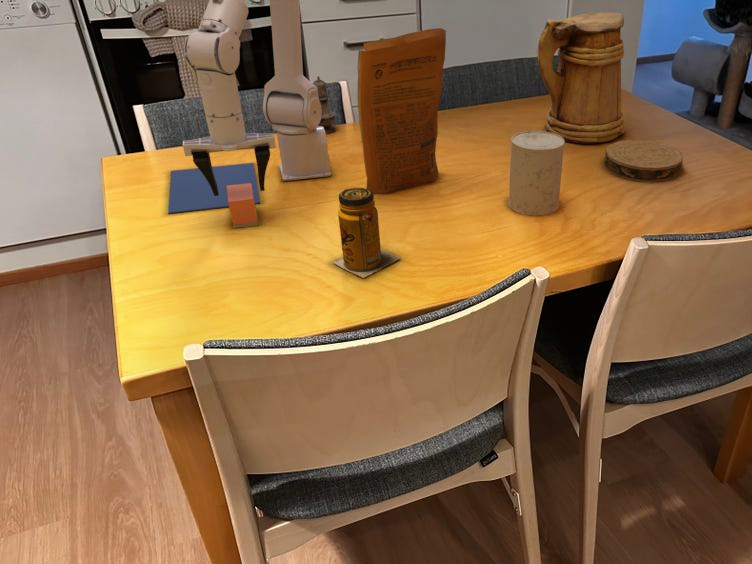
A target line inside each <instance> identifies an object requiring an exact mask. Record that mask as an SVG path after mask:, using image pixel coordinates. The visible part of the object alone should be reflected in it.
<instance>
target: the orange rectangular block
mask: <svg viewBox="0 0 752 564" xmlns="http://www.w3.org/2000/svg"><path fill="white" fill-rule="evenodd" d="M227 196H228V204H229V207H228V209H229V213H230V218H231V222H232V223H231V224H232V227H233V229H240V228H247V227H254V226H255V227H256V226H259V220H258V214H257V208H256V204H255V201H254V196H253V191H252V185H251V183H247V184H238V185H228V186H227Z"/></svg>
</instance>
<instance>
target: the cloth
mask: <svg viewBox="0 0 752 564" xmlns="http://www.w3.org/2000/svg"><path fill="white" fill-rule="evenodd" d="M212 169H213V173H214V177H215V180H216V183H217V187H218V195H219V196H214V193H213V191H212V189H211V186H210V185H209V183H208V181H207V179H206V178H205V176H204V175H203V174H202V172H201V171H200V170H199V169H198V167H196V168H187V169H185V168H183V169H176V170H170V179H169V180H170V181H169V196H168V207H167V208H168V210H167V213H168V215H171V214H172V215H173V214H181V213H189V212H198V211H199V212H200V211H207V210H216V209H226V208H229V204H228V196H227V186H228V185H238V184H247V183H251V185H252V191H253V196H254V201H255V205H260V204H261V200H260V193H259V188H258V183H257V177H256V171H255V165H254V163H253V162H249V163H246V162H245V163H236V164H226V165H216V166H212Z"/></svg>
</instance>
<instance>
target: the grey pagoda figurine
mask: <svg viewBox="0 0 752 564" xmlns="http://www.w3.org/2000/svg"><path fill="white" fill-rule="evenodd" d="M320 78H321V77H320V76H319V75H317V77H316V80H314V81H313V82H312V84H314V85H315V86H316V87H317V88H318V96H319V101H320V104H321V109H322V116H321V121H320V123H319V125H318V126H323V127H324V130H325V134H332V133H334V132H336V131H337V128H336V127H335V126H334V125H333V124H334V122H335V119H336V116H337V113H336V112H335V111H333V110H331V109H330V105H329V99H330V96H329V95H328V94H327V93H328V92H327V84H326V82H325V80H322V79H320Z"/></svg>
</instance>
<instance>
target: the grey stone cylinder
mask: <svg viewBox="0 0 752 564" xmlns="http://www.w3.org/2000/svg"><path fill="white" fill-rule="evenodd" d="M510 142H511V144H510V145H511V147H510V163H509V187H508V189H509V190H508V201H507V204H508V207H509V208H510V209H511V210H512V211H514V212H516V213H518V214H522V215H527V216H544V215H550V214H553V213H554V212H557V210H558V209H559V207H560V204H559V203H560V193H561V180H562V171H563V159H564V149H565V143H566V141H564V139H563V138H562V137H561V136H559V135H557V134H554V133H551V132H548V131H544V130H526V131H521V132H517V133H514V134H513V135H512V137H511V138H510Z"/></svg>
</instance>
